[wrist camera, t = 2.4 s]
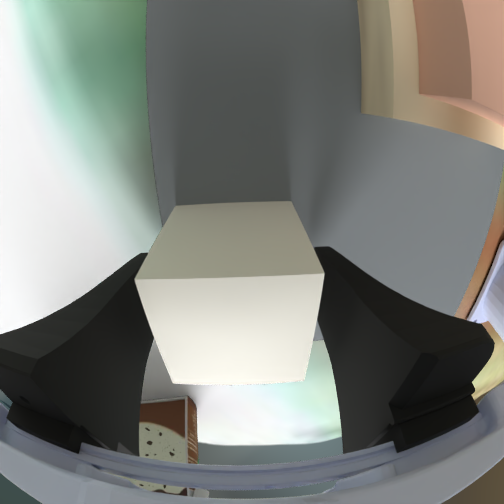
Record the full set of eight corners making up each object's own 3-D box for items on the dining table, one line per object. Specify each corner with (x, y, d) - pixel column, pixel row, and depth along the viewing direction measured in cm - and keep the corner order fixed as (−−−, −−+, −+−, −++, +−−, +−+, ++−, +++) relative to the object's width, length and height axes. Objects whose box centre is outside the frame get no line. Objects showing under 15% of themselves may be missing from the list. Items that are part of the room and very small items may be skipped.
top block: (291, 201, 11) (324, 273, 6) (286, 293, 13) (304, 380, 9) (175, 205, 11) (134, 279, 6) (190, 296, 13) (173, 383, 9)
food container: (137, 428, 24) (124, 503, 15) (99, 402, 21) (78, 486, 12) (235, 421, 22) (237, 517, 13) (203, 393, 19) (196, 512, 10)
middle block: (505, 16, 3) (542, 16, 1) (513, 131, 6) (554, 147, 4) (402, -46, 3) (439, -68, 1) (419, 94, 6) (471, 99, 4)
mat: (481, -20, 4) (489, -22, 3) (448, 310, 16) (453, 317, 15) (164, -86, 3) (160, -93, 3) (191, 335, 15) (189, 345, 15)
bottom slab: (481, 12, 5) (512, 9, 3) (487, 143, 9) (520, 157, 7) (349, -47, 5) (372, -71, 3) (361, 113, 9) (392, 117, 7)
